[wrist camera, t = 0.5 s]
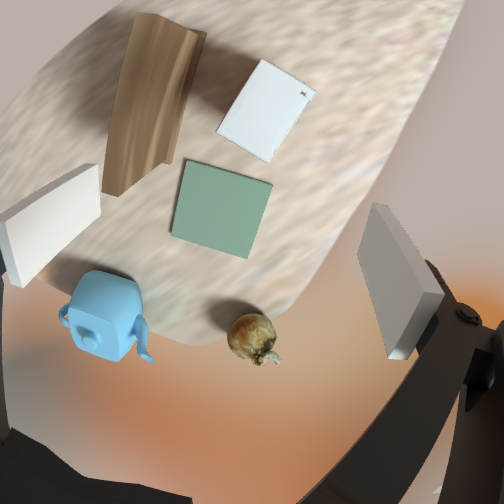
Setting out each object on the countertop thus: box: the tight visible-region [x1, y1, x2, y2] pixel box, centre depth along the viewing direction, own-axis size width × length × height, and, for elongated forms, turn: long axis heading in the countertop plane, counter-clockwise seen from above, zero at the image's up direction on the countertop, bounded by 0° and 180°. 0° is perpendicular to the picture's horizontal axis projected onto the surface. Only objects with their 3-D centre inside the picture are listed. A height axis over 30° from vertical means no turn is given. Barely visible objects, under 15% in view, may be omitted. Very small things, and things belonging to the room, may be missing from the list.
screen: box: [101, 12, 207, 197], centre depth 28 cm, size 3×17×14 cm, turn 163°
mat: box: [171, 159, 273, 259], centre depth 41 cm, size 11×11×1 cm
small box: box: [216, 59, 317, 163], centre depth 29 cm, size 8×6×10 cm
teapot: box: [59, 270, 154, 363], centre depth 46 cm, size 12×18×12 cm
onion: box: [227, 313, 281, 366], centre depth 47 cm, size 8×8×8 cm
